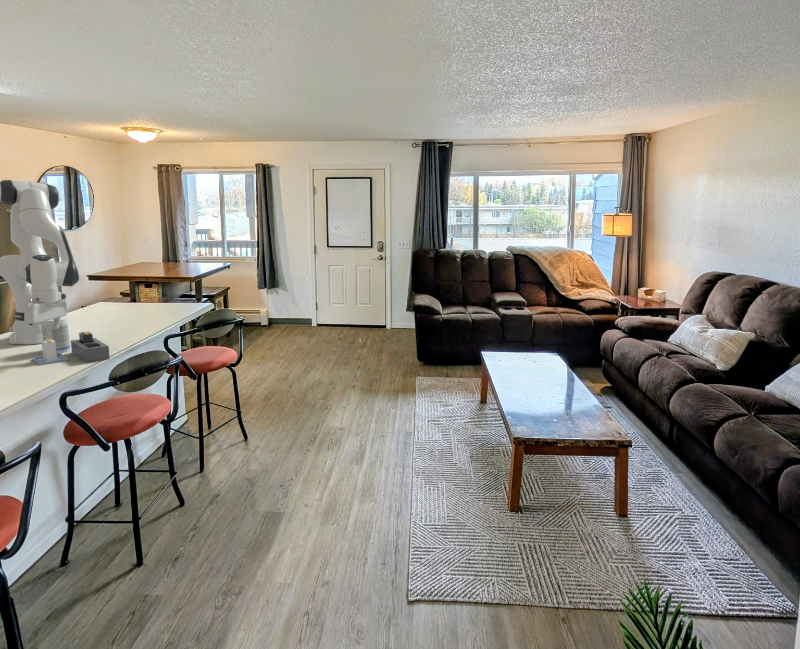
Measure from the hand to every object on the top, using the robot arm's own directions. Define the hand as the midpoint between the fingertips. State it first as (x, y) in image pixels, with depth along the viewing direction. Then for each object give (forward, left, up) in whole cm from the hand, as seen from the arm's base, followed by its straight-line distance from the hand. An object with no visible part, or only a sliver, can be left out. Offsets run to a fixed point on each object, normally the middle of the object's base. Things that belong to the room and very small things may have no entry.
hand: (47, 331), depth 213 cm
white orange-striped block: (0, 0, -12) cm, 12 cm away
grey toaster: (+2, +14, -13) cm, 19 cm away
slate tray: (0, 0, -13) cm, 13 cm away
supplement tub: (-14, +6, -13) cm, 20 cm away
